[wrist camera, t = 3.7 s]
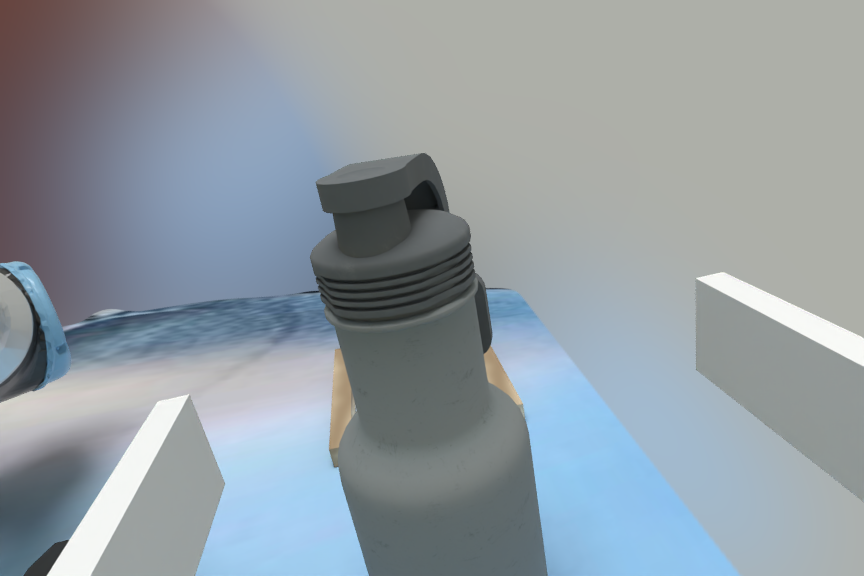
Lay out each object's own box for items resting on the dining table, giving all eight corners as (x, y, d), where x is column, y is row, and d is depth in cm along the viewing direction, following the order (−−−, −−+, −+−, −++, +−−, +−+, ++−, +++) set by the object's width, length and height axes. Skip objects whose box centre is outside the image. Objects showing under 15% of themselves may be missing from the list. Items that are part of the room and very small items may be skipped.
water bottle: (415, 552, 38) (317, 159, 28) (554, 558, 36) (501, 130, 26) (372, 708, 29) (204, 209, 19) (555, 730, 27) (473, 172, 17)
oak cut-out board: (334, 467, 49) (329, 449, 48) (338, 363, 67) (335, 349, 66) (525, 421, 50) (522, 403, 49) (477, 332, 68) (475, 318, 68)
